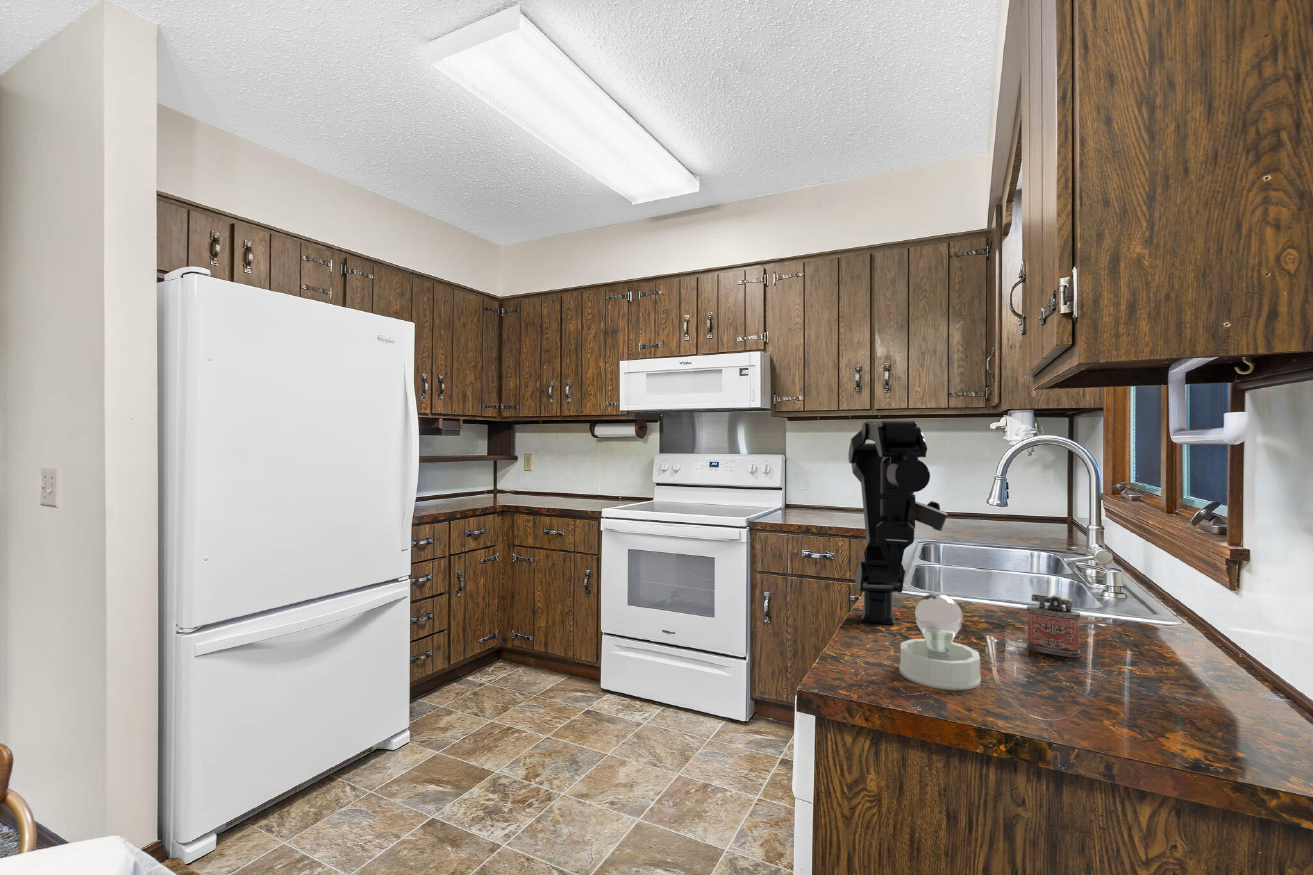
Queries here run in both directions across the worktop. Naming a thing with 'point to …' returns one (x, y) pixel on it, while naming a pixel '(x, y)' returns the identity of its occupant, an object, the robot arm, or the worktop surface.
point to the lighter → (1053, 626)
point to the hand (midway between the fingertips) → (896, 571)
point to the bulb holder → (940, 666)
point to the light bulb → (938, 623)
